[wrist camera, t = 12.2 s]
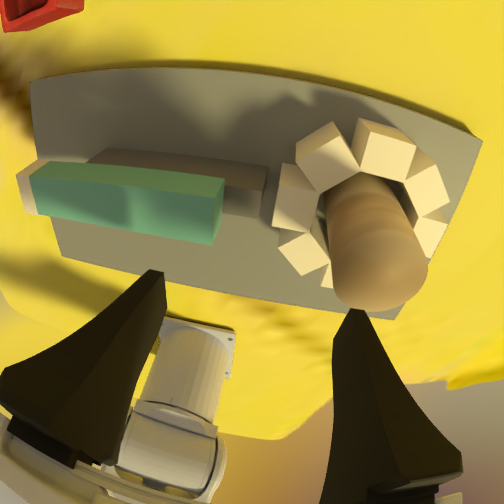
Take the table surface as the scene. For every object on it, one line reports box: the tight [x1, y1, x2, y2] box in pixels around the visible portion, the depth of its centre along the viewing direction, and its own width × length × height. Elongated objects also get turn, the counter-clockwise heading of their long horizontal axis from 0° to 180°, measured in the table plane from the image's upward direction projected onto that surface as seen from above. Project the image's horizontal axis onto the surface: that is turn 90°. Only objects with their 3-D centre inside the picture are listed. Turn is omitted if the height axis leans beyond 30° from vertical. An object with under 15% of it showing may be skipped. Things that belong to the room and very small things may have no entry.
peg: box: [324, 171, 428, 312], centre depth 15 cm, size 4×4×7 cm
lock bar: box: [16, 159, 225, 246], centre depth 14 cm, size 3×12×2 cm, turn 83°
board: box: [29, 67, 483, 320], centre depth 18 cm, size 16×30×4 cm, turn 83°
